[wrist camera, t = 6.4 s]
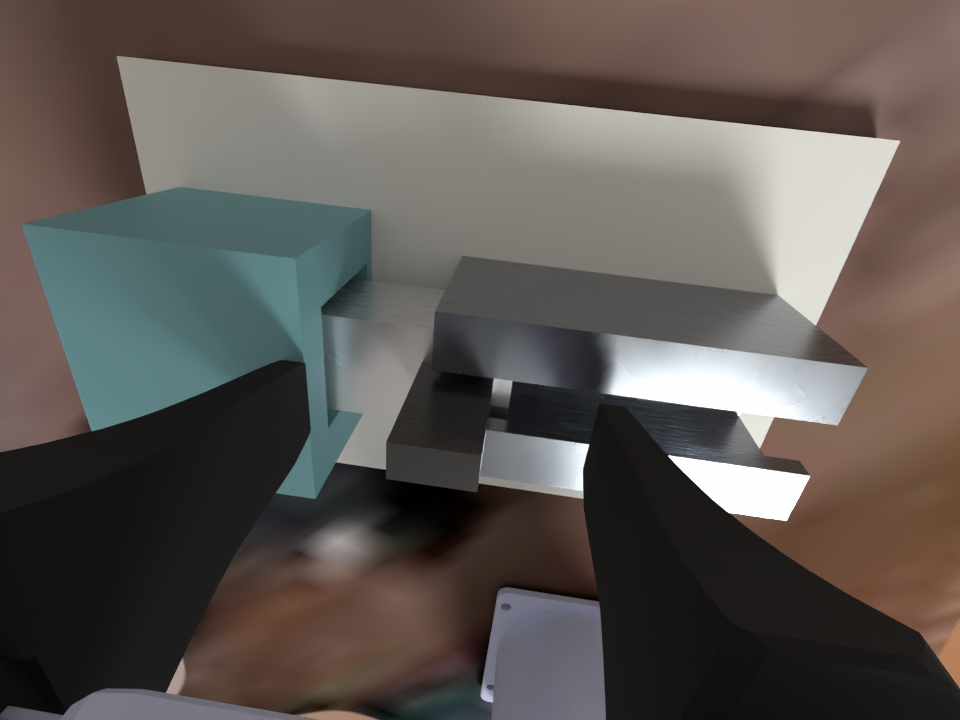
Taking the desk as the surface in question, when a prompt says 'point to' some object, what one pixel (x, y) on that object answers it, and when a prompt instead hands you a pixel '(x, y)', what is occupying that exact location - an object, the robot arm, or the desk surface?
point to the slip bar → (407, 383)
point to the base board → (516, 185)
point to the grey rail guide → (640, 373)
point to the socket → (200, 301)
